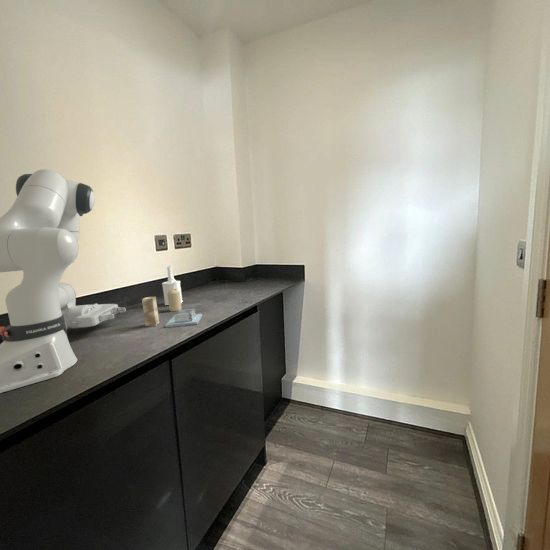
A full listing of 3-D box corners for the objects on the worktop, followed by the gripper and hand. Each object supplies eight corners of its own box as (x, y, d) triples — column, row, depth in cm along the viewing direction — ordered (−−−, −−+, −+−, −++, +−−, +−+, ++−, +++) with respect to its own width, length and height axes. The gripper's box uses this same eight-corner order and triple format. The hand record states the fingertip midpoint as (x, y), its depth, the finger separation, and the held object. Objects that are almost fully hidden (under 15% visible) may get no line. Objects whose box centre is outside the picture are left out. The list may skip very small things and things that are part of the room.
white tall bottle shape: (161, 304, 153) (156, 267, 151) (177, 300, 160) (173, 264, 157) (170, 307, 146) (165, 267, 143) (187, 302, 152) (182, 265, 150)
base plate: (173, 318, 124) (173, 316, 124) (202, 315, 125) (201, 313, 124) (165, 327, 112) (165, 325, 112) (196, 324, 113) (196, 322, 113)
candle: (177, 311, 136) (175, 290, 135) (167, 311, 137) (164, 290, 136) (183, 308, 141) (181, 288, 140) (173, 308, 142) (171, 288, 141)
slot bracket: (179, 317, 122) (178, 310, 121) (195, 315, 122) (194, 308, 122) (174, 322, 114) (174, 315, 114) (192, 320, 115) (191, 313, 114)
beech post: (145, 326, 115) (141, 299, 114) (149, 323, 119) (145, 297, 118) (156, 325, 116) (152, 298, 114) (159, 322, 119) (155, 296, 118)
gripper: (65, 315, 104) (105, 312, 105) (95, 302, 124) (129, 299, 125) (68, 332, 105) (108, 328, 106) (98, 316, 125) (131, 313, 126)
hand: (119, 312), depth 116 cm, fingers open, 8 cm apart
